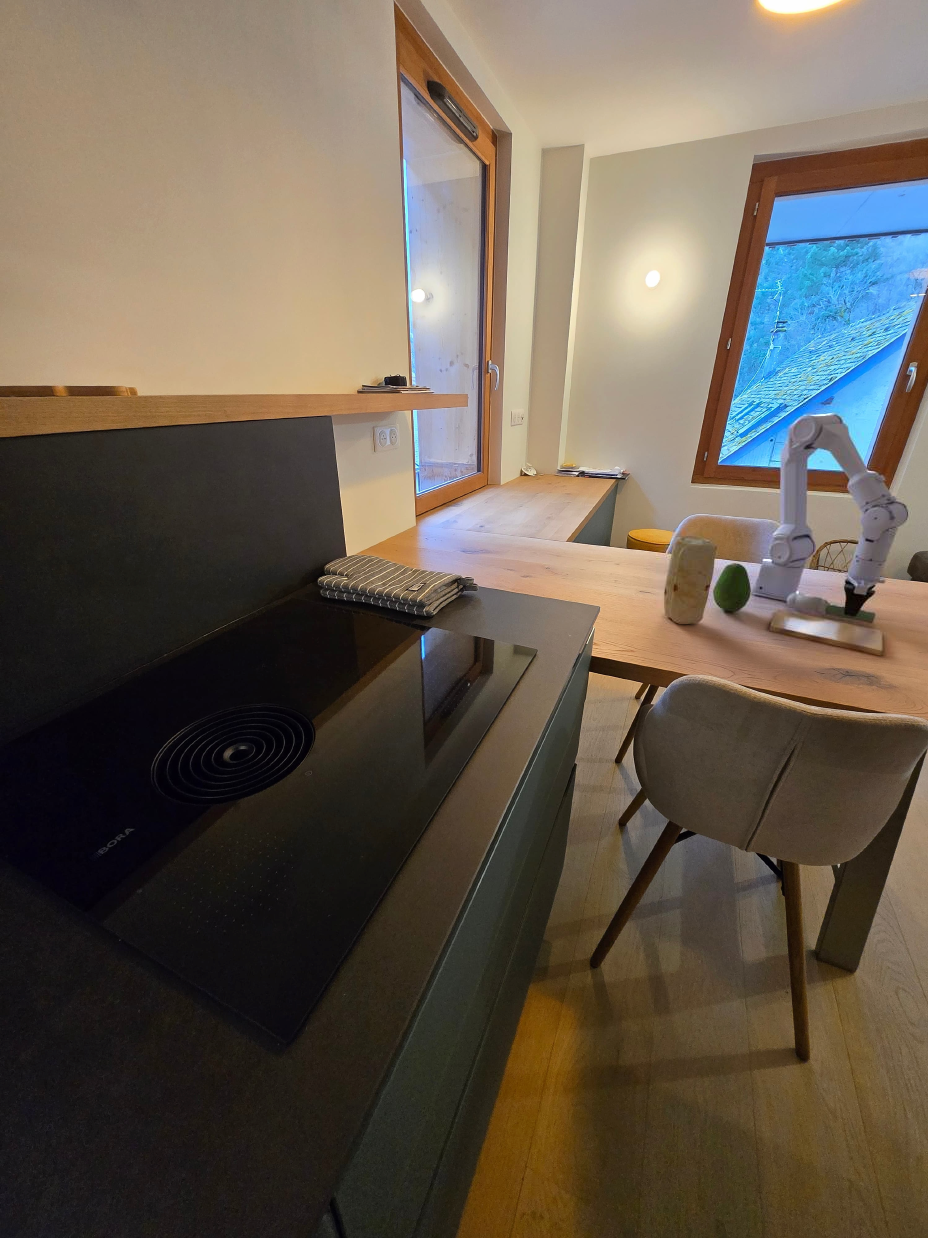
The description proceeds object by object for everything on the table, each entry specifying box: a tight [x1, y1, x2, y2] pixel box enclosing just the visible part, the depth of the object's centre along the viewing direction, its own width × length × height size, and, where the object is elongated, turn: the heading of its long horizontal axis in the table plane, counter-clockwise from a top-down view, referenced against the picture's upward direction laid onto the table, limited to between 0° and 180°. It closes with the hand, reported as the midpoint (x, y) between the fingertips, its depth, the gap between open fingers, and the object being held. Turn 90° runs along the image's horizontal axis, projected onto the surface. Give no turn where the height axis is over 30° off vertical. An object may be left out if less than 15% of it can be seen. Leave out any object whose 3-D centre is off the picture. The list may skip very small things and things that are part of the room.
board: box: [769, 608, 883, 656], centre depth 110 cm, size 20×11×1 cm, turn 53°
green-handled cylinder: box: [786, 593, 877, 624], centre depth 117 cm, size 17×4×4 cm, turn 53°
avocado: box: [712, 562, 752, 612], centre depth 119 cm, size 8×8×12 cm
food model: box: [663, 535, 718, 625], centre depth 113 cm, size 10×7×20 cm
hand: (849, 612), depth 115 cm, fingers closed on green-handled cylinder, 2 cm apart
